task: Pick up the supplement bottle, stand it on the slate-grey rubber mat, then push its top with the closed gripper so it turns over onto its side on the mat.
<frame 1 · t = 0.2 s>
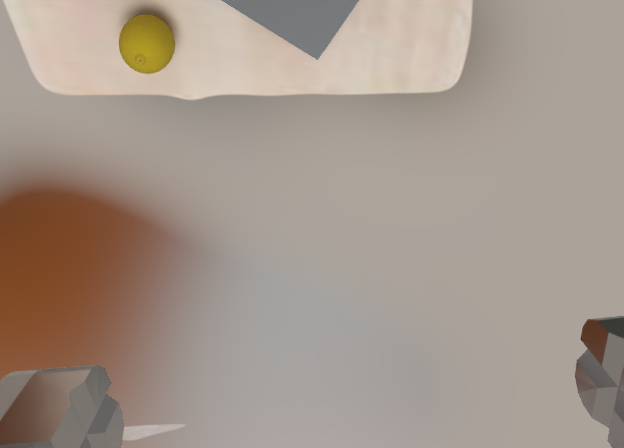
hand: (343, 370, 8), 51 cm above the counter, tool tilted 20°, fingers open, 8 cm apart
lemon: (154, 28, 55), on the counter
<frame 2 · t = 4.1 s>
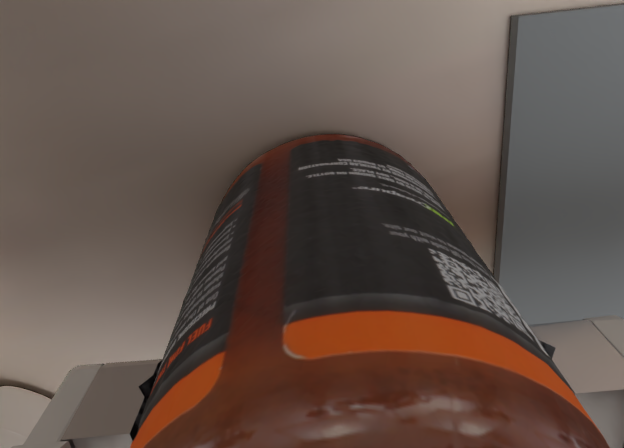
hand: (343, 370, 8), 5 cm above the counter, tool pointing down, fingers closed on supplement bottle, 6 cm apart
supplement bottle: (328, 233, 13), on the counter, touching gripper
when the fingers open (7 cm above the counter, at t = 11.3 s): supplement bottle stays where it is, resting on mat.
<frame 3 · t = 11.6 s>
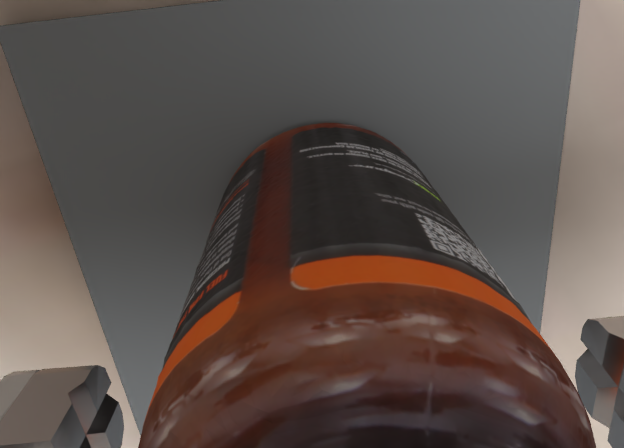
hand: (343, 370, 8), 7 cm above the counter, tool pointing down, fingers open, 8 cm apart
supplement bottle: (326, 217, 14), resting on mat
mat: (324, 338, 16), on the counter
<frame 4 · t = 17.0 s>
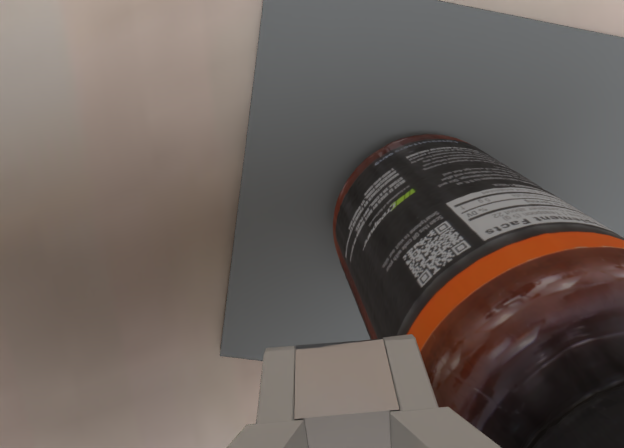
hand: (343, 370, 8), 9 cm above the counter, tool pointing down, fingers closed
supplement bottle: (412, 211, 17), point 1 cm above the counter, touching gripper, mat
mat: (525, 235, 18), on the counter
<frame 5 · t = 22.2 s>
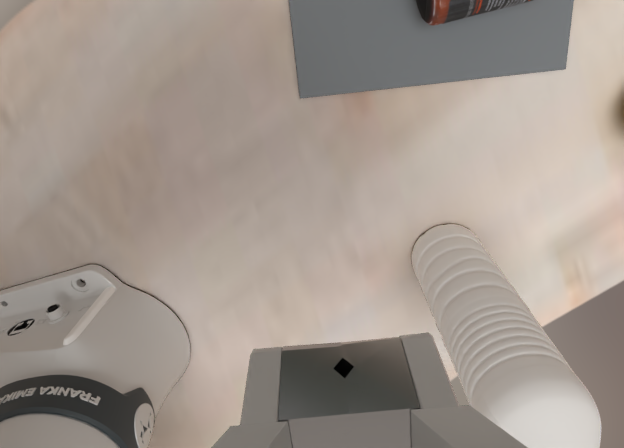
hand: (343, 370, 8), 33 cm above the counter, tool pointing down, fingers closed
water bottle: (435, 260, 46), on the counter
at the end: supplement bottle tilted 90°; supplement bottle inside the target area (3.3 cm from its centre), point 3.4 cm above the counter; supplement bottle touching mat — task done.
